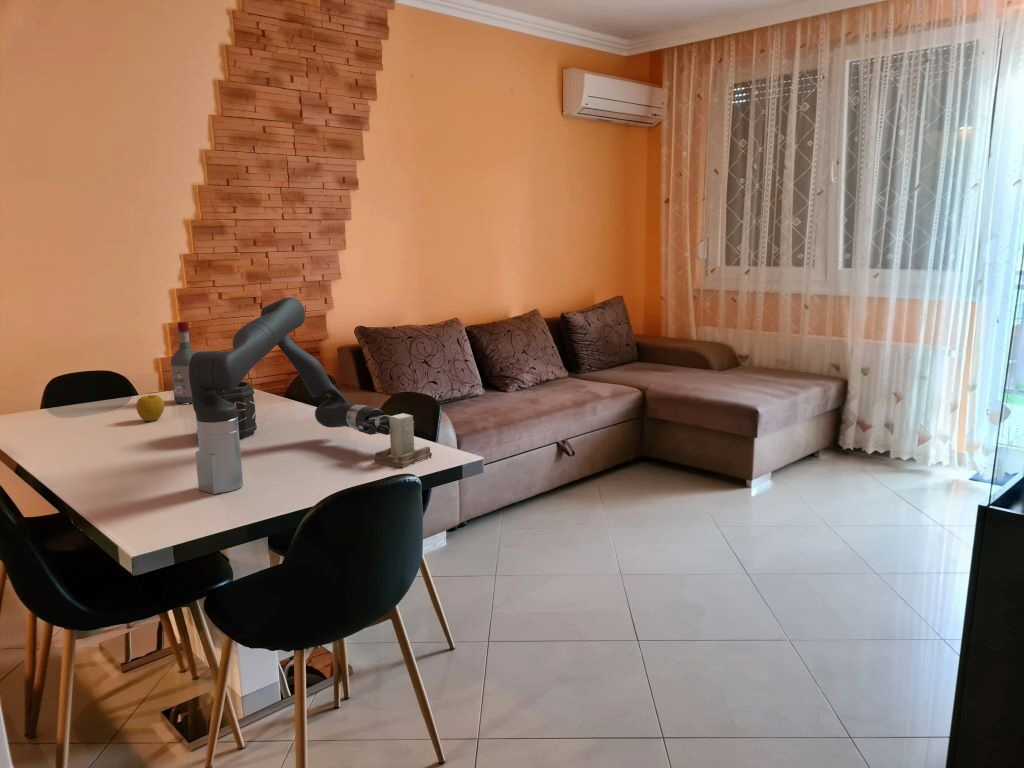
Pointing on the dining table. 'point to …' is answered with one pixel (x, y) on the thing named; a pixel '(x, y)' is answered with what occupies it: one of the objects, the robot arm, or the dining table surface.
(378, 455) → the shallow brown tray
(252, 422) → the dark ribbed cylinder
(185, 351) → the liquor
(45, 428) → the dining table surface
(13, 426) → the dining table surface
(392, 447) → the box
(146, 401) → the apple
